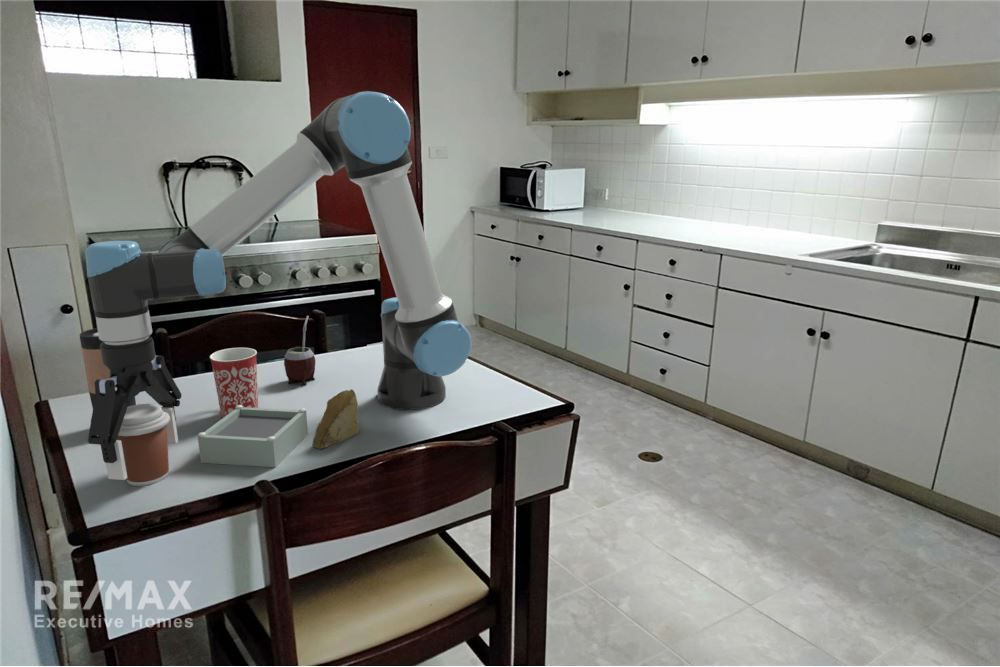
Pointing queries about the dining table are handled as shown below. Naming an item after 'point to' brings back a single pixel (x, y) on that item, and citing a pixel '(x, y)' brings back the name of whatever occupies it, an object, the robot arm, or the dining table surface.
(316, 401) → the dining table surface
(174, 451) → the dining table surface
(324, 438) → the rock
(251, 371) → the mug
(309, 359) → the mate gourd
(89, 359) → the travel mug
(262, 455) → the pale green square tray
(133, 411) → the coffee cup
